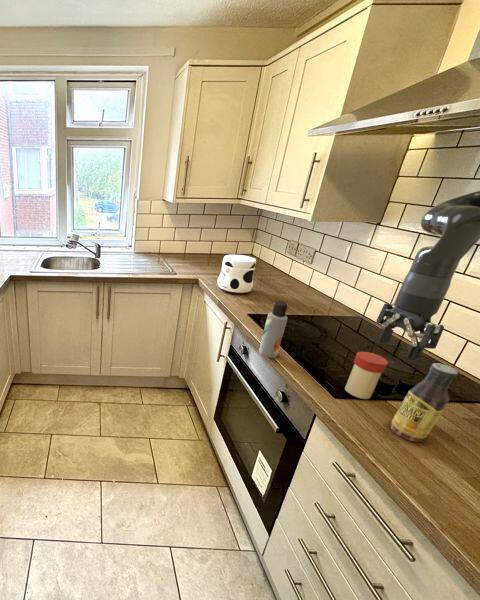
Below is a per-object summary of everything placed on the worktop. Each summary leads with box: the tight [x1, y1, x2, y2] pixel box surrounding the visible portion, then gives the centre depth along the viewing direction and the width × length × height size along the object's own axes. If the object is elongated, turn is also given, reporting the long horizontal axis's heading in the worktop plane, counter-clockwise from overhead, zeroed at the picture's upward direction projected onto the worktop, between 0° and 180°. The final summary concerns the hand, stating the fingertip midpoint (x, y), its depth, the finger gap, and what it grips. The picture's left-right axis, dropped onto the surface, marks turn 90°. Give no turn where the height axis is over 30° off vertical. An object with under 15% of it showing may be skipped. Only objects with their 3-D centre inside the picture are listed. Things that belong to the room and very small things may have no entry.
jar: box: [344, 362, 382, 400], centre depth 90 cm, size 6×6×11 cm
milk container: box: [217, 254, 257, 295], centre depth 167 cm, size 17×17×18 cm
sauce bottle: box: [389, 362, 459, 443], centre depth 74 cm, size 7×6×20 cm
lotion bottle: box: [258, 300, 289, 359], centre depth 108 cm, size 6×6×20 cm
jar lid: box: [353, 351, 389, 374], centre depth 88 cm, size 7×7×3 cm
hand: (396, 349), depth 81 cm, fingers open, 8 cm apart
